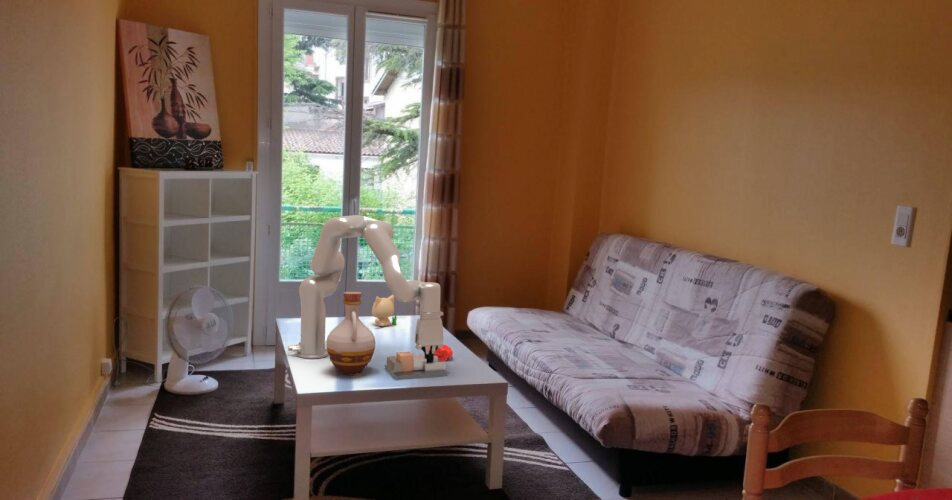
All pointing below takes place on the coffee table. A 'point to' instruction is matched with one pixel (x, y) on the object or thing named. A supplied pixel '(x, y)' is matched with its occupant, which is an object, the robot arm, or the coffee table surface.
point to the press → (429, 370)
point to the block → (405, 360)
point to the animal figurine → (443, 353)
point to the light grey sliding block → (418, 362)
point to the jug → (351, 339)
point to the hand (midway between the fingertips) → (429, 363)
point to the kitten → (384, 310)
